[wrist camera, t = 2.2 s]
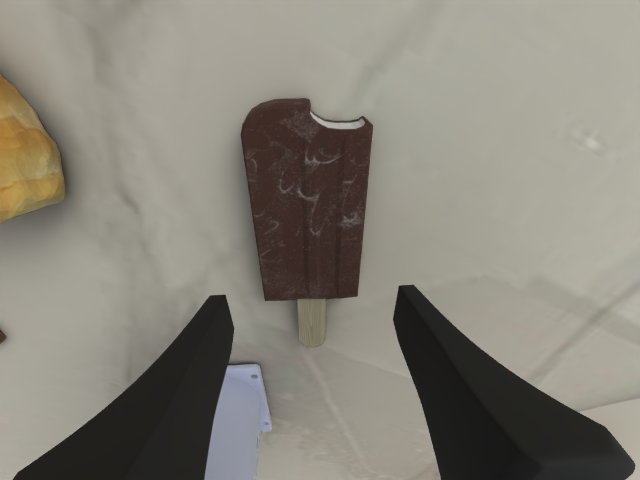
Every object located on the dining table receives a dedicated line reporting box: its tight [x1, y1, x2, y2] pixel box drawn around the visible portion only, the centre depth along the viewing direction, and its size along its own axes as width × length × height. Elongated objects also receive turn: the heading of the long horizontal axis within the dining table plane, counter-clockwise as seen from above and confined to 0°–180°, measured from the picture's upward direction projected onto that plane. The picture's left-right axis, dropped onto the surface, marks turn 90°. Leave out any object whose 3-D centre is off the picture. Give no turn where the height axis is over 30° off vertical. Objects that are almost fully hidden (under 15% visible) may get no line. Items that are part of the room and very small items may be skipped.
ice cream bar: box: [241, 98, 373, 348], centre depth 16 cm, size 5×2×15 cm
